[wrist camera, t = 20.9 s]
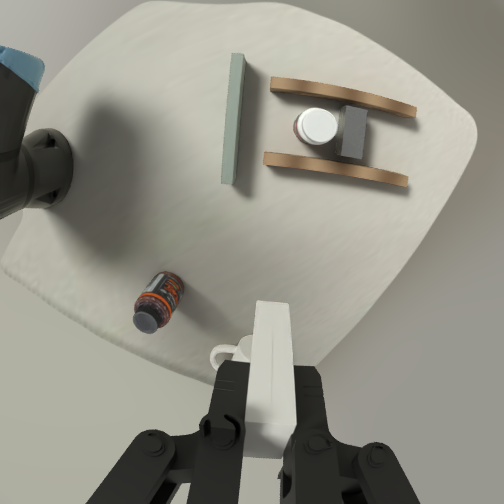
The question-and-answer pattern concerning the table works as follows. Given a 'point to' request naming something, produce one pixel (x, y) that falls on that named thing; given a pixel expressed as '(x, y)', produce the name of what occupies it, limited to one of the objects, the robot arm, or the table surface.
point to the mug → (234, 351)
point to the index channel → (349, 97)
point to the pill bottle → (315, 126)
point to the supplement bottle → (157, 302)
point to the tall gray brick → (351, 132)
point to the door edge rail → (233, 118)
